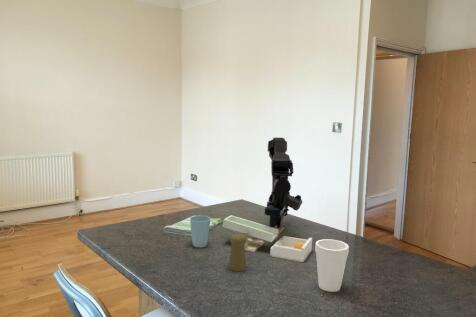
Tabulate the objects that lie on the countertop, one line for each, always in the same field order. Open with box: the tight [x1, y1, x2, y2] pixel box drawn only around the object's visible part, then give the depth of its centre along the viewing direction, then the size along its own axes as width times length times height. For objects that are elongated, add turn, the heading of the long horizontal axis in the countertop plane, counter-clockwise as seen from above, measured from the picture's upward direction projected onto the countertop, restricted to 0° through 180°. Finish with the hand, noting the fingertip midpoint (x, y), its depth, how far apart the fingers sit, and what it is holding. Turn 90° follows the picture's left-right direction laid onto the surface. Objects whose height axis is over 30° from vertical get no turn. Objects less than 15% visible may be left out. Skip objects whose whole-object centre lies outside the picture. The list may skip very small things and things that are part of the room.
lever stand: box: [241, 232, 265, 253], centre depth 145 cm, size 11×8×7 cm
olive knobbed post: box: [227, 233, 247, 272], centre depth 125 cm, size 6×6×11 cm
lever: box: [222, 215, 285, 243], centre depth 149 cm, size 16×20×3 cm
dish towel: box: [163, 214, 223, 237], centre depth 166 cm, size 17×23×4 cm
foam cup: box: [314, 238, 350, 293], centre depth 113 cm, size 10×9×13 cm
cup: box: [190, 215, 212, 248], centre depth 144 cm, size 8×8×10 cm
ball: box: [294, 242, 304, 250], centre depth 137 cm, size 4×4×4 cm
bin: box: [269, 235, 313, 263], centre depth 138 cm, size 12×12×5 cm
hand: (279, 227), depth 151 cm, fingers closed, pressing on lever
